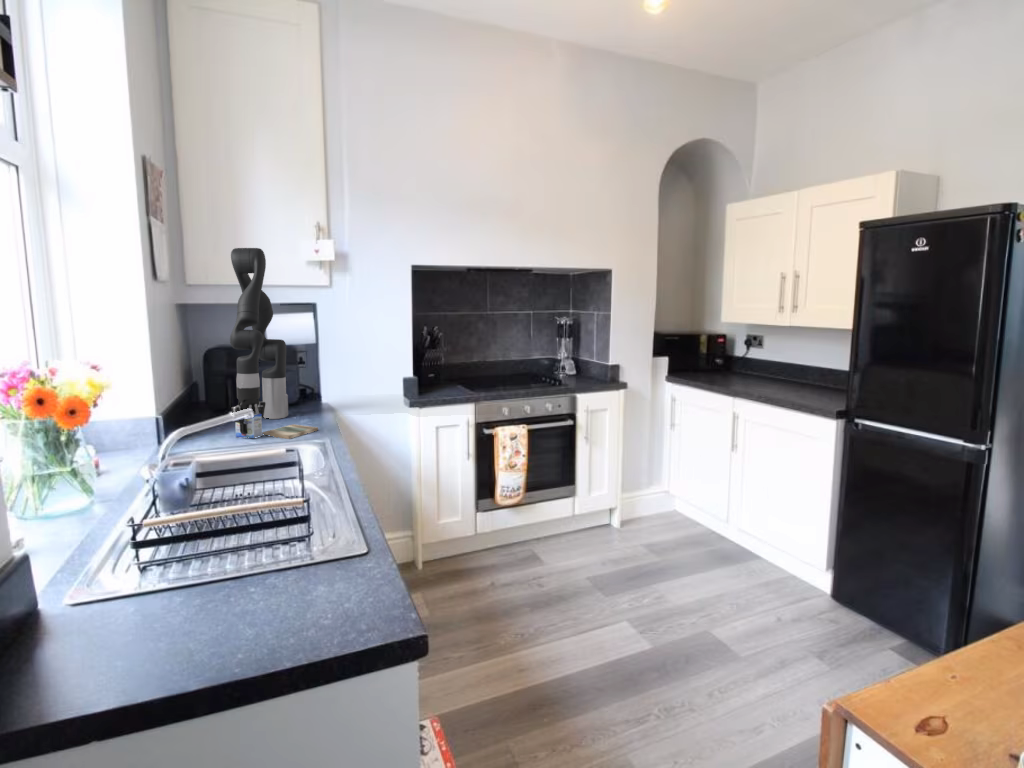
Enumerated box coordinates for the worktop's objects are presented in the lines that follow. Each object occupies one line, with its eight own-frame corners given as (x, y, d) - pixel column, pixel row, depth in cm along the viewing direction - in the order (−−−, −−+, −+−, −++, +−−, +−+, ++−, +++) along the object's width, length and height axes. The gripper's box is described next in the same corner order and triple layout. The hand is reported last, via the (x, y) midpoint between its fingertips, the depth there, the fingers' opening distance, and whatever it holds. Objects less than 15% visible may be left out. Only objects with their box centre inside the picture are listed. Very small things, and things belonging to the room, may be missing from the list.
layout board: (293, 427, 219) (293, 423, 219) (318, 430, 215) (318, 426, 215) (262, 435, 204) (262, 431, 204) (288, 439, 200) (288, 435, 200)
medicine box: (235, 437, 200) (234, 413, 199) (244, 434, 204) (243, 411, 203) (254, 439, 198) (253, 415, 197) (262, 436, 202) (261, 413, 201)
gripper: (255, 382, 206) (256, 427, 209) (223, 387, 193) (225, 435, 195) (271, 384, 204) (272, 429, 206) (240, 388, 191) (242, 437, 193)
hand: (249, 431), depth 201 cm, fingers closed on medicine box, 4 cm apart
